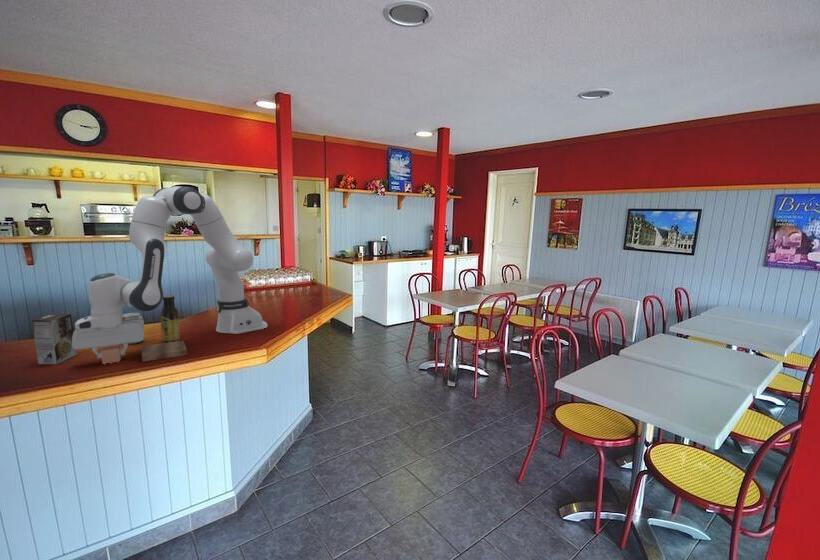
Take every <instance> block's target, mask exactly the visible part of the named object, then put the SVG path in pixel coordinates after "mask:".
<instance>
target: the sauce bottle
mask: <svg viewBox="0 0 820 560" xmlns="http://www.w3.org/2000/svg"><path fill="white" fill-rule="evenodd" d="M175 298H176V297H175V295H173V294H170V295H168V294H167V295H163V300H162V302H163V307H162V311H161V314H160V326H161V339H162V343H169V342H177V341H180V320H179V310H178V309H177V308H176V305H175Z"/></svg>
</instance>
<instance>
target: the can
mask: <svg viewBox="0 0 820 560" xmlns="http://www.w3.org/2000/svg"><path fill="white" fill-rule="evenodd" d="M128 317H139V318H142V319H143V316H142V315H141V313H140V312H129V313H123V318H128ZM143 332H144V330H143ZM144 340H145V338H144V339H143V340H142V342H143V341H144ZM142 342H141V341H140V343H142ZM136 343H137V344H140V343H139V342H132V343H128V345H135V344H136ZM137 344H136V345H137Z"/></svg>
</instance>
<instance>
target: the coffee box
mask: <svg viewBox="0 0 820 560" xmlns="http://www.w3.org/2000/svg"><path fill="white" fill-rule="evenodd" d="M31 322H32V328H33V329H32V330H33V334H34V335H33V336H34V343H35V350H36V357H37V364H38V365H58V364H60V363H62V362H65V361H66V360H68V359H71V358H73V357H75V356H77V350H75V349H74V348H72V336H73V333H74V326H73V319H72V313H59V312H57V313H55V312H54V313H50V314H47V315H44V316H41V317H38V318H35V319H32V321H31Z"/></svg>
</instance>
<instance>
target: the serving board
mask: <svg viewBox="0 0 820 560" xmlns="http://www.w3.org/2000/svg"><path fill="white" fill-rule="evenodd" d="M187 349H188V348H187V347H186V343H185V341H184V340H179V341H177V342H169V343H163V342H162V343H155V344H149V345H141V361H142V363H144V362H150V361H151V360H152V361H156V360H157V359H158V360H165V359H171V358H177V357H182V356H188V350H187ZM170 357H171V358H170ZM164 358H165V359H164Z"/></svg>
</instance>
